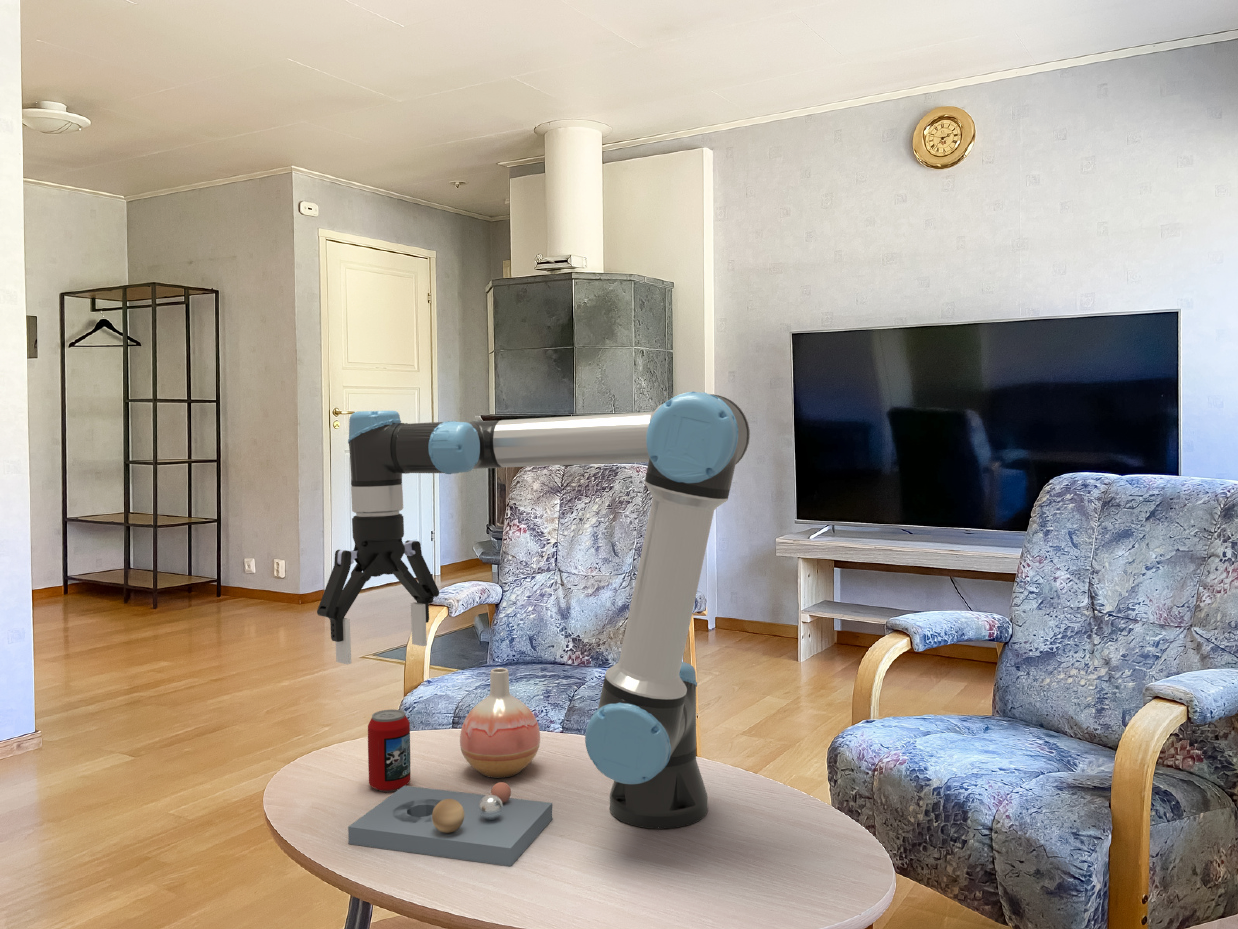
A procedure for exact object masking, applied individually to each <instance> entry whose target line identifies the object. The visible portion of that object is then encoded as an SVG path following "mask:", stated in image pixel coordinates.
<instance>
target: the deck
mask: <svg viewBox="0 0 1238 929" xmlns="http://www.w3.org/2000/svg"><path fill="white" fill-rule="evenodd" d="M486 795H487V794H481V793H480V794H479V793H471V792H463V791H454V790H448V789H447V790H445V789H437V788H428V787H421V786H412V785H405V786H403V787H402V788H400V789H399V790H395V791H394V793H392V794H390V796H388V797H387V798H385V799H384V800H383V801H381V802H380V803H378V804H377V805H376V806H375V807H373V808H372V809H371V810H369V811H368V812H366V813H365V814H364V815H362V816H361V817H359V818H358V819H356V820H355V821H354V822H352V823H351V824H350V825H348V827H347V832H348V833H347V835H348V838H347V839H348V840H347V841H348V845H354V846H361V847H367V848H376V849H382V850H389V851H398V852H405V853H412V854H417V855H419V854H420V855H427V856H433V857H440V858H448V859H454V860H462V861H469V862H476V863H483V864H492V865H499V866H505V867H512V866H513V865H514V863H515V862H516V861H517V860H518V859H519V858H520V856H522V854H523V853H524V852H525V851H526V850H527V849H528V847H529V846H531V844H532V843H533V841H534V840H536V838H537V837H538V836H539V835H540V834H541V833H542V832H543V830H544V829H545V828H546V827H548V825H549V823H550V822H552V820H553V802H549V801H539V800H533V799H522V798H513V797H510V798H509V799H508V800H507V801H506V802H504V803H502V804H503V809H502V812H501V814H500V816H499V817H498V818H496V819H494V820H486V819H484V818H483V817H482V816H481V815H480V813H479V809H478V807H479V803H480V801H481V799H482V798H483V797H485V796H486ZM445 799H453V800H456V801H458V802H459V803H460V804H461V805H462V807H463V809H464V820H463V823H462V825H461V826H460V827H459V828H458V829H457V830H456V831H454V832H451V833H444V832H441V831H439V830H438V829H437V828H436V827H435V826H434V824H433V821H432V812H433V810H434V808H435V806H436V805H437V804H438V803H439V802H440V801H442V800H445Z"/></svg>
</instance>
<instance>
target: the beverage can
mask: <svg viewBox="0 0 1238 929" xmlns="http://www.w3.org/2000/svg"><path fill="white" fill-rule="evenodd" d="M410 726H411V723H410V720H409V719H408V717H407V715H406V712H405V711H404V710H401V709H383V710H379V711H376V712H374V713H373V714H371V718H370V721H369V722H368V725H367V756H368V759H367V762H368V768H367V769H368V785H369V786H370V787H371V788H373V789H375V790H377V791H378V790H379V792H384V791H385V793H387V792H396V791H398V790H399V789H400V788H402V787H403V786H408V784H409V783H410V782H411V778H412V777H411V728H410Z"/></svg>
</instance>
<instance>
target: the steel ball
mask: <svg viewBox="0 0 1238 929" xmlns="http://www.w3.org/2000/svg"><path fill="white" fill-rule="evenodd" d="M485 795H486V796H485V797H483V798H482V799H481V801H480V803H479V807H478V809H479V813H480V815H481V816H482V817H483V818H484V819H486V820H494V819H496V818H498V817H499V816H500V814H501V812H502V809H503V804H502V801H501V799H500V798H499V797H498V796H496V795H492V794H491V793H490V794H485Z"/></svg>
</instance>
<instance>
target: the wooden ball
mask: <svg viewBox="0 0 1238 929" xmlns="http://www.w3.org/2000/svg"><path fill="white" fill-rule="evenodd" d="M463 820H464V809H463V807H462V805H461V804H460V803H459V802H458V801H456V800H453V799H445V800H442V801H440V802H439V803H438V804H437V805H436V806H435V808H434V810H433V812H432V821H433V824H434V826H435V827H436V828H437V829H438V830H439V831H441V832H444V833H451V832H454V831H456V830H457V829H458V828H459V827H460V826H461V825H462V823H463Z"/></svg>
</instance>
